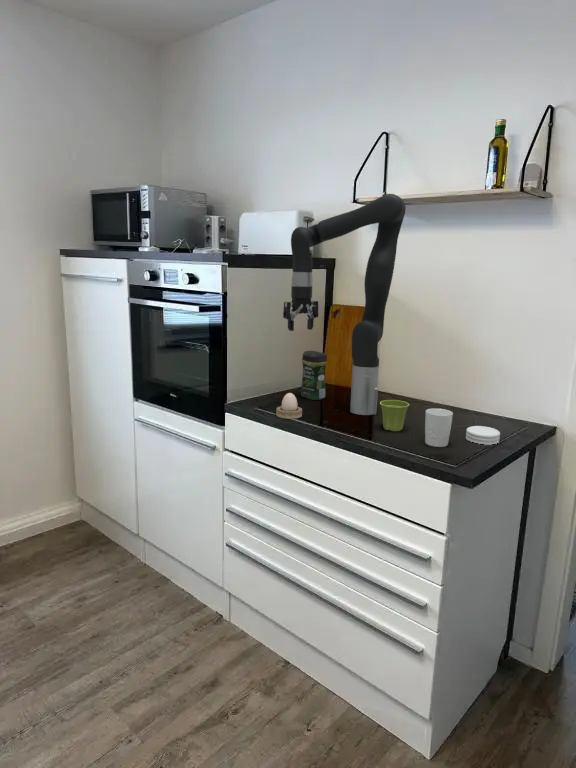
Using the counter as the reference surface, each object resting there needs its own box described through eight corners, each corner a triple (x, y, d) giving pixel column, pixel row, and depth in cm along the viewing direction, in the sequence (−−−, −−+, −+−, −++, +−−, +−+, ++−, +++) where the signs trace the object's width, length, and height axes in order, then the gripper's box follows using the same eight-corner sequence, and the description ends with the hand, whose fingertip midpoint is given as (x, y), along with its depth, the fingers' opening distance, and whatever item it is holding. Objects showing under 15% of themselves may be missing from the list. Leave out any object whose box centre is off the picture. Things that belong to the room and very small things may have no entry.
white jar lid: (476, 434, 183) (477, 423, 182) (505, 441, 176) (506, 431, 175) (459, 439, 176) (460, 429, 176) (488, 448, 169) (489, 437, 168)
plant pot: (385, 434, 179) (387, 407, 177) (373, 425, 188) (375, 400, 186) (412, 432, 182) (414, 406, 180) (399, 424, 191) (401, 399, 189)
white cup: (418, 443, 171) (420, 411, 169) (432, 437, 177) (434, 407, 175) (441, 449, 166) (444, 417, 164) (454, 444, 171) (457, 412, 169)
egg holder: (302, 412, 202) (302, 406, 201) (300, 419, 193) (301, 413, 192) (277, 411, 202) (278, 405, 202) (275, 417, 194) (275, 411, 193)
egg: (300, 415, 198) (301, 393, 196) (289, 418, 194) (290, 395, 192) (288, 412, 201) (289, 390, 200) (278, 414, 198) (278, 392, 196)
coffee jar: (297, 396, 224) (298, 350, 220) (311, 393, 229) (313, 348, 225) (314, 401, 217) (315, 354, 213) (328, 398, 222) (330, 352, 218)
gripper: (311, 284, 209) (309, 327, 213) (279, 284, 201) (278, 329, 205) (324, 285, 203) (322, 330, 207) (292, 285, 195) (290, 332, 199)
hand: (300, 330), depth 206 cm, fingers open, 8 cm apart
